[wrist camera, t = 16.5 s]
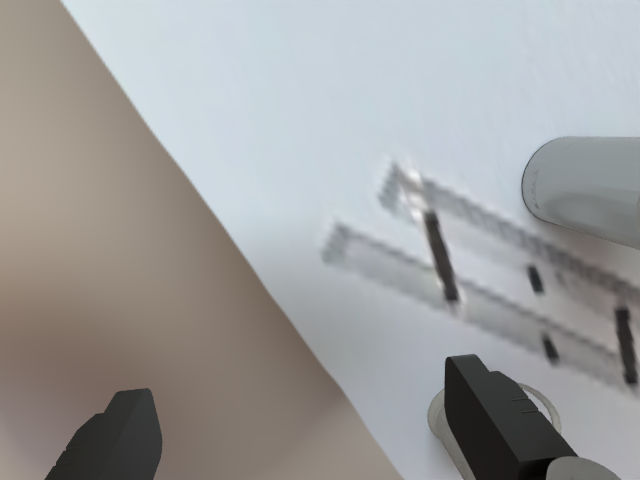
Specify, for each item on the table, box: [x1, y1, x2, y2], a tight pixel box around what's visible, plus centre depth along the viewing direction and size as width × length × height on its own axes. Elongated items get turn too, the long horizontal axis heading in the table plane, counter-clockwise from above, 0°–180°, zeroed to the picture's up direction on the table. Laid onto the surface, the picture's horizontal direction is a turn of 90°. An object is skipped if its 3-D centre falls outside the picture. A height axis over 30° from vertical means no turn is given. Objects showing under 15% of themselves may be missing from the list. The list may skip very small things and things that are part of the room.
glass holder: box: [428, 383, 561, 480], centre depth 42 cm, size 9×14×15 cm, turn 170°
